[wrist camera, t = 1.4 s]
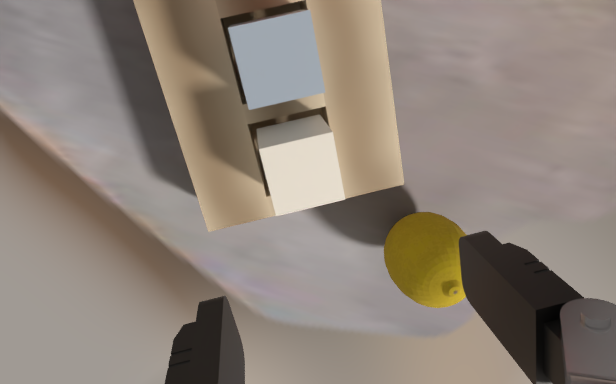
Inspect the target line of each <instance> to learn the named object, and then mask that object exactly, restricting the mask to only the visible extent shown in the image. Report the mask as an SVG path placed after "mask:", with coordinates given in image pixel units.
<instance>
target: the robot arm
mask: <svg viewBox="0 0 616 384" xmlns="http://www.w3.org/2000/svg"><path fill="white" fill-rule="evenodd" d="M459 254H460V266H461V278H462V285H463V289H464V292H465V295H466V297H467V299H468V301H469V302H470V304H471V305H472V306H473V308H474V309H475V310H476V312H477V313H478V314H479V315H480V317H481V318H482V319H483V321H484V322H485V323H486V324H487V326H488V327H489V328H490V329H491V331H492V332H493V333H494V334H495V336H496V337H497V338H498V340H499V341H500V342H501V343H502V345H503V346H504V347H505V349H506V350H507V351H508V352H509V354H510V355H511V356H512V357H513V359H514V360H515V361H516V363H517V364H518V365H519V367H520V368H521V369H522V370H523V372H524V373H525V374H526V376H527V377H528V378H529V379H530V381H531V382H532V383H533V384H616V305H615V304H613V303H610V302H607V301H604V300H599V299H592V298H584V297H582V296H581V295H580V294H579V293H578V292H577V291H575V290H574V289H573V288H572V287H571V286H569V285H568V284H567V283H566V282H565V281H563V280H562V279H561V278H560V277H558V276H557V275H556V274H555V273H554V272H553V271H550V270H549V268H548V267H547V266H545V265H544V264H543V263H542V262H539V260H538V259H537V258H536V257H535V256H534V255H532V254H531V253H530V252H529V251H528V250H526V249H524V248H521V247H519V246H516V245H514V244H511V243H506V244H501V243H500V242H499V241H498V240H497V239H496V238H495V237H494V236H492V235H491V234H490V233H489V232H488V231H482V232H478V233H474V234H470V235H467V236H463V237H460V239H459ZM165 384H245V361H244V352H243V346H242V342H241V338H240V335H239V332H238V329H237V326H236V323H235V320H234V317H233V314H232V311H231V308H230V305H229V302H228V300H227V298H226V296H222V297H218V298H214V299H210V300H207V301H202V302H199V305H198V311H197V318H196V322H192V323H189V324H185V325H183V327H182V328H181V330H180V331H179V333H178V334H177V335H176V337H175V338H174V341H173V346H172V351H171V356H170V361H169V368H168V371H167V375H166V380H165Z"/></svg>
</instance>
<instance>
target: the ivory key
mask: <svg viewBox="0 0 616 384" xmlns="http://www.w3.org/2000/svg"><path fill="white" fill-rule="evenodd" d="M256 130H257V138H258V146H259V152H260V156H261V160H262V163H263V167H264V171H265V175H266V179H267V183H268V187H269V191H270V195H271V199H272V203H273V206H274V210H275V214H276V216H280V215H284V214H288V213H292V212H296V211H300V210H304V209H309V208H313V207H317V206H321V205H325V204H329V203H333V202H337V201H342V200H345V195H344V189H343V184H342V179H341V173H340V168H339V163H338V157H337V152H336V146H335V141H334V136H333V131H332V130H331V129H330V127H329V126H328V125H327V123H326V122H325V121H324V120H323V118H322V117H321V116H320V114H319V115H314V116H310V117H306V118H301V119H297V120H293V121H288V122H284V123H280V124H276V125H271V126H267V127H263V128H258V129H256Z"/></svg>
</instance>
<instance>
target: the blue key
mask: <svg viewBox="0 0 616 384" xmlns="http://www.w3.org/2000/svg"><path fill="white" fill-rule="evenodd" d="M228 31H229V34H230V38H231V42H232V46H233V50H234V54H235V58H236V62H237V66H238V70H239V74H240V77H241V81H242V85H243V89H244V93H245V97H246V101H247V105H248V109H249V110H252V109H256V108H260V107H265V106H269V105H273V104H278V103H282V102H286V101H291V100H295V99H299V98H304V97H308V96H312V95H317V94H321V93H325V87H324V82H323V76H322V71H321V66H320V60H319V55H318V49H317V44H316V39H315V33H314V28H313V22H312V17H311V12H310V10H297V11H292V12H287V13H283V14H278V15H274V16H269V17H265V18H260V19H256V20H251V21H247V22H242V23H238V24H233V25H230V26H229V27H228Z"/></svg>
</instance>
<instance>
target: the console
mask: <svg viewBox="0 0 616 384" xmlns="http://www.w3.org/2000/svg"><path fill="white" fill-rule="evenodd" d="M133 1H134V5H135V8H136V11H137V14H138V17H139V20H140V23H141V26H142V29H143V32H144V35H145V38H146V41H147V44H148V47H149V51H150V54H151V57H152V60H153V63H154V66H155V69H156V72H157V75H158V78H159V81H160V84H161V87H162V90H163V93H164V97H165V100H166V103H167V106H168V109H169V112H170V115H171V118H172V121H173V124H174V127H175V130H176V133H177V136H178V140H179V143H180V146H181V149H182V152H183V155H184V158H185V161H186V164H187V167H188V170H189V173H190V176H191V179H192V182H193V186H194V189H195V192H196V195H197V198H198V201H199V204H200V207H201V210H202V213H203V216H204V219H205V222H206V225H207V228H208V232H210V231H214V230H218V229H222V228H226V227H231V226H235V225H239V224H243V223H247V222H251V221H255V220H259V219H264V218H268V217H272V216H276V214H275V210H274V206H273V203H272V199H271V195H270V191H269V187H268V183H267V179H266V175H265V171H264V167H263V163H262V160H261V156H260V152H259V146H258V138H257V130H256V129H258V128H263V127H267V126H271V125H276V124H280V123H284V122H288V121H293V120H297V119H301V118H306V117H310V116H314V115H319V114H320V116H321V117H322V118H323V120H324V121H325V122H326V123H327V125H328V126H329V127H330V129H331V130H332V131H333V136H334V141H335V146H336V152H337V157H338V163H339V168H340V173H341V179H342V184H343V189H344V195H345V199H346V198H350V197H354V196H358V195H362V194H366V193H371V192H375V191H379V190H383V189H387V188H391V187H395V186H399V185H404V178H403V170H402V163H401V155H400V147H399V139H398V131H397V123H396V115H395V108H394V100H393V92H392V84H391V76H390V68H389V61H388V53H387V45H386V37H385V29H384V21H383V14H382V6H381V0H133ZM297 10H310V12H311V17H312V22H313V28H314V33H315V39H316V44H317V49H318V55H319V60H320V66H321V71H322V76H323V82H324V87H325V93H321V94H317V95H312V96H308V97H304V98H299V99H295V100H291V101H286V102H282V103H278V104H273V105H269V106H265V107H260V108H256V109H252V110H249V109H248V105H247V101H246V97H245V93H244V89H243V85H242V81H241V77H240V74H239V70H238V66H237V62H236V58H235V54H234V50H233V46H232V42H231V38H230V34H229V31H228V27H229V26H230V25H233V24H238V23H242V22H247V21H251V20H256V19H260V18H265V17H269V16H274V15H278V14H283V13H287V12H292V11H297Z"/></svg>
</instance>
